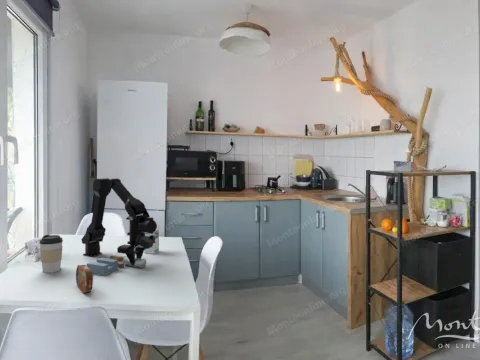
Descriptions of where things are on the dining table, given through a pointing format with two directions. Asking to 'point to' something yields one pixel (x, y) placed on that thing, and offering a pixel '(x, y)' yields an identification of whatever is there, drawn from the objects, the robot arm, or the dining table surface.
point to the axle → (138, 262)
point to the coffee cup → (51, 253)
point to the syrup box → (155, 245)
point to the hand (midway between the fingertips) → (135, 263)
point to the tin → (84, 278)
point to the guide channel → (119, 258)
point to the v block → (103, 266)
